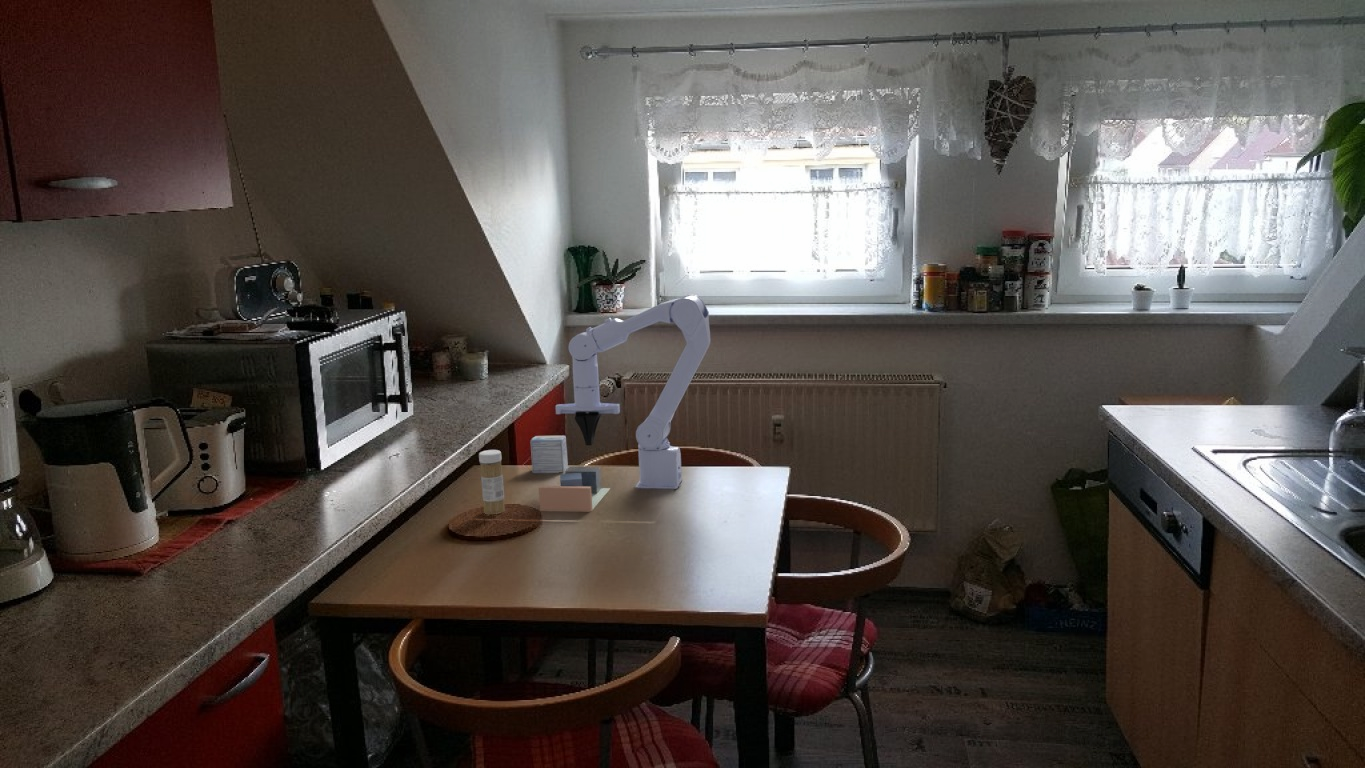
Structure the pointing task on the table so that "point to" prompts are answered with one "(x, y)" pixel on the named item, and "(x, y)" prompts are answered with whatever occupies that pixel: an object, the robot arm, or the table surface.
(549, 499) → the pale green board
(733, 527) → the table surface
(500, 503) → the sprinkles bottle
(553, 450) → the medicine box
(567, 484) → the slate blue carton
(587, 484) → the grey toy block
